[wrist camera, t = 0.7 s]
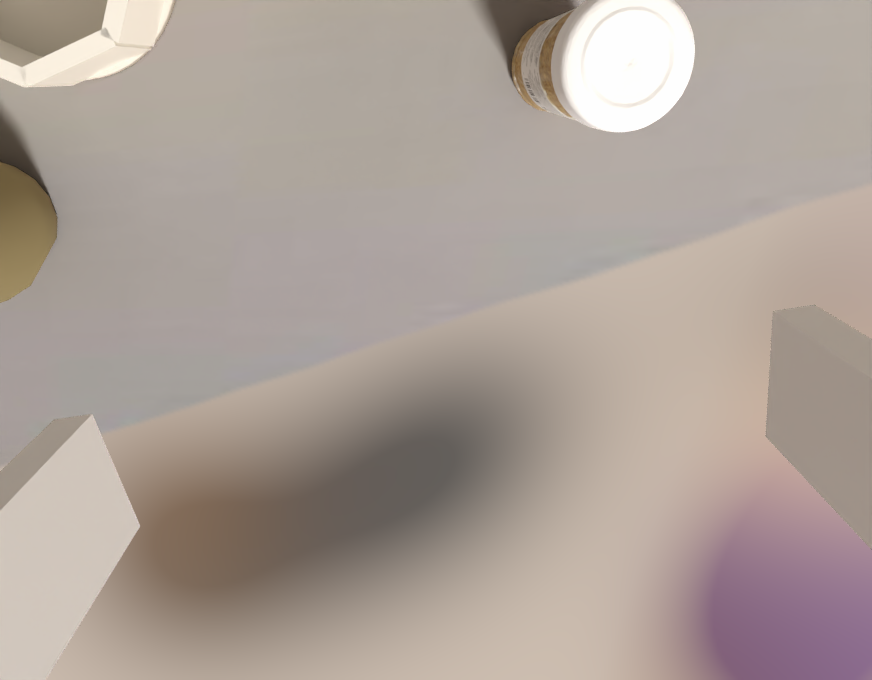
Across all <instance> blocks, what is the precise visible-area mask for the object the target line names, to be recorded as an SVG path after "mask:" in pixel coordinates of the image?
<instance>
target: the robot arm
mask: <svg viewBox="0 0 872 680" xmlns="http://www.w3.org/2000/svg"><path fill="white" fill-rule="evenodd" d="M767 405H768V406H767V421H766V437H767V438H768V440H769V441H770V442H771V443H772V444H773V445H774V446H775V447H776V448H777V449H778V450H779V451H780V452H781V453H782V455H783V456H784V457H785V458H786V459H787V460H788V461H789V462H790V463H791V464H792V465H793V466H794V467H795V468H796V469H797V471H798V472H799V473H800V474H801V475H802V476H803V477H804V478H805V479H806V480H807V481H808V482H809V483H810V484H811V485H812V486H813V488H814V489H815V490H816V491H817V492H818V493H819V494H820V495H821V496H822V497H823V498H824V499H825V500H826V502H827V503H828V504H829V505H830V506H831V507H832V508H833V509H834V510H835V511H836V512H837V513H838V514H839V515H840V517H841V518H843V520H844V521H845V522H846V523H847V524H848V525H849V526H850V527H851V528H852V529H853V530H854V531H855V533H857V535H858V536H859V537H860V538H861V539H862V540H863V541H864V542H865V543H866V544H867V545H868V546H869V547H870V549H871V550H872V339H871V338H869V337H867V336H866V335H864V334H862V333H861V332H859V331H857V330H856V329H854V328H852V327H851V326H849V325H847V324H846V323H844V322H842V321H841V320H839V319H837V318H836V317H834V316H832V315H831V314H829V313H827V312H826V311H824V310H822V309H821V308H819V307H817V306H816V305H810V306H803V307H797V308H791V309H784V310H777V311H773V320H772V337H771V354H770V370H769V387H768V404H767ZM139 527H140V525H139V523H138V520H137V518H136V515H135V513H134V511H133V509H132V506H131V504H130V502H129V499H128V497H127V495H126V492H125V490H124V487H123V485H122V483H121V480H120V478H119V476H118V473H117V471H116V468H115V466H114V464H113V461H112V459H111V457H110V455H109V452H108V450H107V447H106V445H105V443H104V440H103V438H102V436H101V433H100V431H99V429H98V426H97V424H96V422H95V419H94V417H93V415H92V414H88V415H82V416H75V417H69V418H62V419H55V420H53V421H52V422H51V423H50V424H49V425H48V426H47V427H46V428H45V429H44V430H43V431H42V432H41V433H40V434H39V435H38V436H37V437H36V438H35V439H34V440H33V441H32V442H30V443H29V444H28V445H27V446H26V447H25V448H24V449H23V450H22V451H21V452H20V453H19V454H18V455H17V456H16V457H15V458H14V459H13V460H12V461H11V462H10V463H9V464H8V465H7V466H5V467H4V468H3V469H2V470H1V471H0V680H46V679H47V677H48V675H49V674H50V672H51V671H52V669H53V667H54V666H55V664H56V662H57V661H58V659H59V657H60V656H61V654H62V653H63V651H64V649H65V648H66V646H67V644H68V643H69V641H70V640H71V638H72V636H73V635H74V633H75V631H76V630H77V628H78V626H79V625H80V623H81V622H82V620H83V618H84V617H85V615H86V613H87V612H88V610H89V609H90V607H91V605H92V604H93V602H94V600H95V599H96V597H97V595H98V594H99V592H100V591H101V589H102V587H103V586H104V584H105V582H106V581H107V579H108V578H109V576H110V574H111V573H112V571H113V569H114V568H115V566H116V564H117V563H118V561H119V560H120V558H121V556H122V555H123V553H124V551H125V550H126V548H127V547H128V545H129V543H130V542H131V540H132V538H133V537H134V535H135V533H136V532H137V530H138V529H139Z"/></svg>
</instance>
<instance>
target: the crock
mask: <svg viewBox="0 0 872 680" xmlns="http://www.w3.org/2000/svg"><path fill="white" fill-rule="evenodd" d="M174 4H175V0H0V77H1V78H3V79H6V80H8V81H10V82H13V83H15V84H18V85H20V86H22V87H47V86H73V85H75V84H77V83H80V82H82V81H84V80H93V79H98V78H103V77H108V76H110V75H113V74H116V73H119V72H121V71H123V70H125V69H127V68H128V67H130V66H132V65H134V64H135V63H136V62H137V61H139V60H140V59H141V58H142V57H144V56H145V55H146V54H147V53H148V52H149V51H150V50H151V48H152V47H153V46H154V45H155V44H156V42H157V41H158V39H159V38H160V36H161V35H162V34H163V32H164V30H165V28H166V26H167V24H168V22H169V19H170V17H171V14H172V11H173V8H174Z"/></svg>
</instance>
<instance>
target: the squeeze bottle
mask: <svg viewBox="0 0 872 680" xmlns="http://www.w3.org/2000/svg"><path fill="white" fill-rule="evenodd" d="M56 238H57V216H56V213H55V210H54V208H53V205H52V202H51V200H50V197H49V196H48V195H47V194H46V192H45V191H44V190H43V189H42V188H41V186H40V185H39V184H38V183H37V182H36V180H35V179H33V178H32V177H30V176H29V175H27V174H26V173H24V172H22V171H21V170H19V169H18V168H16V167H15V166H11V165H8V164H5V163H2V162H0V303H1V302H4V301H7V300H9V299H11V298H12V297H14V296H15V295H17V294H18V293H20V292H21V291H23V290H24V289H26V288H27V287H29V286H30V285H31V284H32V282H33V280H34V279H35V277H36V275H37V273H38V271H39V269H40V268H41V266H42V264H43V262H44V260H45V258H46V257H47V255H48V253H49V251H50V249H51V247H52V246H53V244H54V242H55V240H56Z"/></svg>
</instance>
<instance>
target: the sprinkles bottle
mask: <svg viewBox="0 0 872 680" xmlns="http://www.w3.org/2000/svg"><path fill="white" fill-rule="evenodd" d="M694 55H695V43H694V36H693V31H692V28H691V25H690V23H689V20H688V18H687V16H686V14H685V12H684V11H683V10H682V8H681V7H680V6H679V5H678V3H677V2H676V1H675V0H586V1H585V2H583V3H582V4H581V5H579V6H578V7H577V8H575V9H573V10H570V11H568V12H566V13H564V14H561V15H559V16H556V17H554V18H552V19H550V20H545V21H542V22H539V23H538V24H536V25H535V26H534V27H532V28H530V29H529V30H528V31H527V32H526V33H525V34H524V35H523V36H522V38H521V40H520V41H519V43H518V44H517V46H516V48H515V52H514V56H513V60H512V77H513V81H514V85H515V87H516V88H517V91H518V93H519V94H520V95H521V97H522V98H523V99H524V101H525V102H527V103H528V104H529V105H531V106H532V107H534V108H536V109H538V110H541V111H548V112H550V113H554V114H557V115H560V116H563V117H567V118H570V119H574V120H577V121H578V122H580V123H582V124H584V125H586V126H589V127H592V128H595V129H599V130H603V131H610V132H628V131H633V130H637V129H641V128H643V127H646V126H648V125H650V124H652V123H653V122H655V121H656V120H658V119H659V118H661V117H662V116H663V115H665V114H666V113H667V112H668V111H669V110H670V109H671V108H672V107H673V106H674V105H675V103H676V102H677V101H678V99H679V98H680V97H681V95H682V94H683V92H684V89H685V88H686V86H687V84H688V81H689V79H690V76H691V72H692V69H693V64H694Z"/></svg>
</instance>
